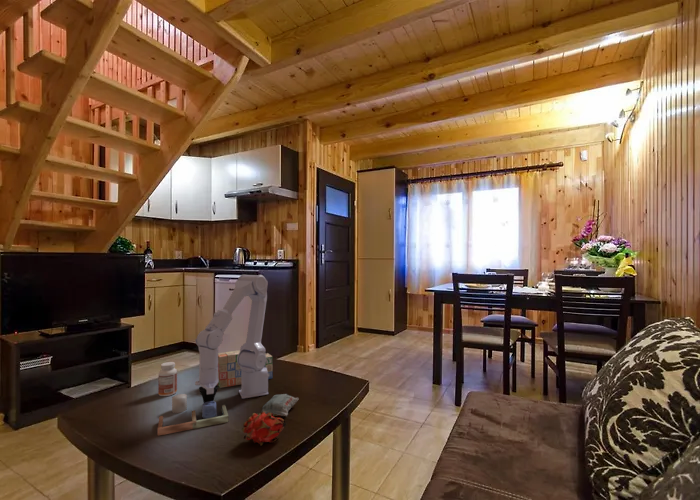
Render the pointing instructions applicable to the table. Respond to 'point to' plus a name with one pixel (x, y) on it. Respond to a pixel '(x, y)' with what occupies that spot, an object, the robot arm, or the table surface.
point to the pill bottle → (167, 379)
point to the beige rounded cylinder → (179, 403)
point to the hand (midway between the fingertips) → (208, 409)
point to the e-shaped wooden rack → (192, 423)
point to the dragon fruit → (263, 427)
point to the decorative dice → (209, 409)
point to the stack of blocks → (235, 368)
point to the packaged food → (279, 405)
